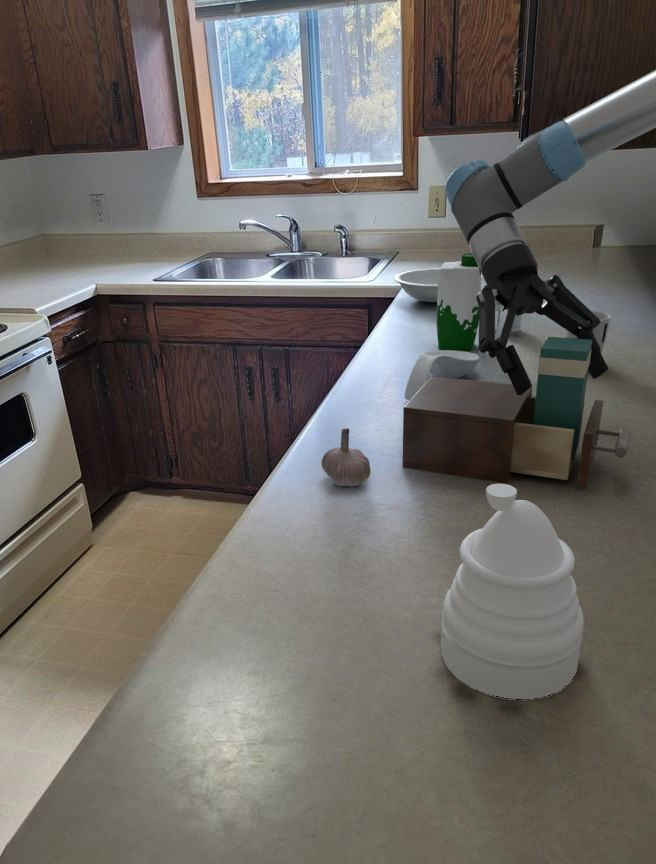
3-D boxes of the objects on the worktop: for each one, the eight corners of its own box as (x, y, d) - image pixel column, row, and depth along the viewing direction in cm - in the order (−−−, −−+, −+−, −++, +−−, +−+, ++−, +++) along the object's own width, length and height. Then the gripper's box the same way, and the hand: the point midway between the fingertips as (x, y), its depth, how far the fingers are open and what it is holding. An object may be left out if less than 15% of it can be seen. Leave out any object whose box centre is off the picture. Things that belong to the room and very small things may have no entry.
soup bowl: (376, 301, 208) (376, 277, 205) (435, 287, 220) (436, 264, 217) (440, 315, 190) (441, 289, 187) (500, 299, 203) (501, 274, 200)
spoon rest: (429, 363, 155) (431, 329, 152) (485, 369, 150) (487, 334, 147) (387, 399, 136) (387, 362, 133) (449, 407, 131) (450, 369, 128)
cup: (604, 372, 145) (611, 321, 140) (560, 369, 147) (566, 320, 143) (602, 359, 152) (609, 311, 147) (561, 357, 154) (566, 310, 150)
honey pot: (454, 703, 66) (465, 529, 58) (430, 616, 78) (436, 461, 70) (598, 697, 66) (629, 522, 58) (553, 611, 77) (573, 455, 69)
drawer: (627, 453, 109) (635, 403, 106) (619, 492, 98) (628, 438, 95) (498, 436, 117) (502, 390, 113) (479, 471, 106) (482, 421, 102)
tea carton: (578, 444, 110) (592, 339, 103) (573, 460, 105) (587, 351, 98) (536, 439, 112) (547, 336, 105) (529, 454, 107) (540, 348, 100)
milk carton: (475, 353, 159) (481, 258, 150) (433, 352, 162) (436, 258, 153) (478, 342, 167) (484, 251, 158) (438, 341, 169) (441, 251, 160)
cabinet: (526, 444, 116) (532, 386, 111) (508, 483, 104) (513, 420, 100) (430, 431, 122) (432, 376, 118) (402, 467, 110) (403, 407, 106)
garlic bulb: (333, 465, 112) (332, 416, 108) (379, 472, 109) (379, 422, 106) (313, 486, 106) (311, 435, 102) (361, 494, 103) (360, 442, 99)
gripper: (555, 263, 117) (613, 379, 111) (421, 283, 108) (477, 410, 103) (584, 232, 110) (647, 354, 105) (444, 250, 102) (505, 385, 96)
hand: (563, 382), depth 104 cm, fingers open, 13 cm apart
